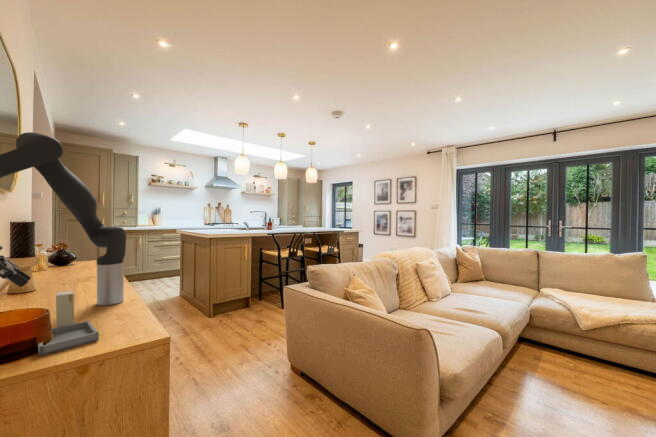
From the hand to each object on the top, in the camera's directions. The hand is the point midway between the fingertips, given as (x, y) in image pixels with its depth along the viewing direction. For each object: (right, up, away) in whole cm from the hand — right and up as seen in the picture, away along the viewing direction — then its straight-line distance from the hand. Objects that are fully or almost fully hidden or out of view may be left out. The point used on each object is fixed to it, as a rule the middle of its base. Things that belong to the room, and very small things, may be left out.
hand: (26, 282), depth 87 cm
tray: (+14, -17, -2) cm, 22 cm away
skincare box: (+6, -17, +7) cm, 20 cm away
